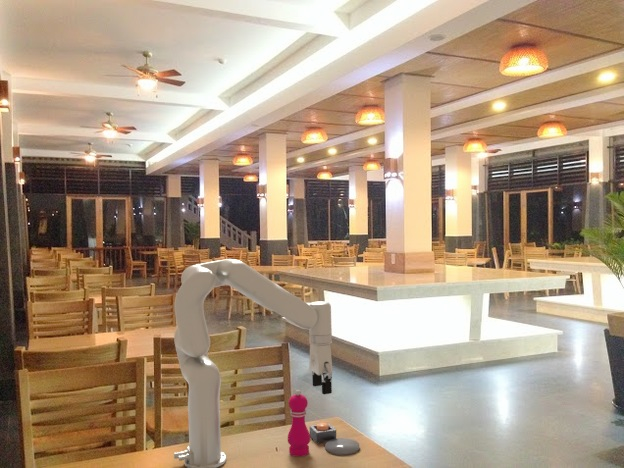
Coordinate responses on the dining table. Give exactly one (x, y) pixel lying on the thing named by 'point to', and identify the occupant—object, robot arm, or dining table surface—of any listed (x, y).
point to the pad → (342, 446)
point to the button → (322, 427)
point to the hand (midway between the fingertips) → (322, 389)
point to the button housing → (322, 434)
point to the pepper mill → (298, 426)
